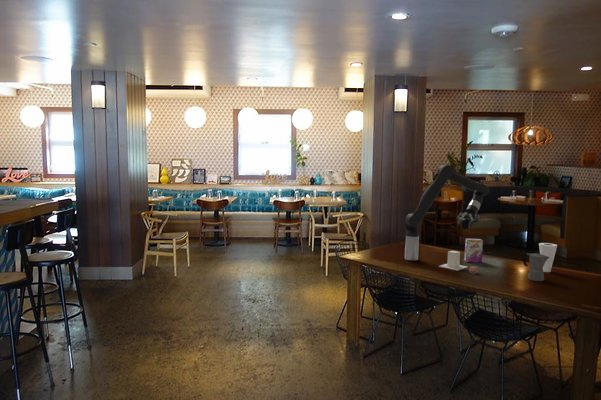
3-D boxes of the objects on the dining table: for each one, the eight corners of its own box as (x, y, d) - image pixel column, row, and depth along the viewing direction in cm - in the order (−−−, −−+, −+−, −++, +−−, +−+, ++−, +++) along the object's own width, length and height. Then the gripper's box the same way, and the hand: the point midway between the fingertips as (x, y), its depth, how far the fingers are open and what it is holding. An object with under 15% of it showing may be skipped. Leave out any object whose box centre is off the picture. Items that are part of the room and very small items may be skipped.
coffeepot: (549, 279, 277) (550, 250, 275) (546, 282, 270) (548, 253, 268) (521, 275, 286) (523, 247, 284) (518, 278, 278) (520, 249, 277)
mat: (457, 270, 296) (457, 270, 296) (438, 266, 306) (438, 265, 306) (468, 267, 305) (468, 266, 305) (449, 263, 315) (449, 262, 315)
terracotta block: (474, 274, 288) (475, 268, 287) (469, 272, 291) (469, 266, 290) (477, 273, 290) (478, 267, 290) (472, 271, 293) (472, 265, 293)
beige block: (455, 267, 302) (455, 253, 301) (447, 266, 306) (447, 251, 305) (459, 266, 305) (460, 251, 304) (451, 264, 310) (452, 250, 309)
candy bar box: (465, 262, 319) (467, 239, 317) (464, 260, 324) (465, 238, 322) (482, 262, 318) (483, 240, 316) (480, 261, 323) (481, 238, 321)
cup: (553, 274, 289) (555, 246, 287) (535, 271, 296) (536, 244, 294) (557, 271, 297) (559, 244, 295) (539, 268, 304) (541, 242, 302)
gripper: (462, 203, 323) (452, 220, 316) (481, 205, 312) (472, 223, 306) (465, 210, 327) (456, 227, 320) (484, 212, 316) (475, 230, 310)
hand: (464, 225), depth 313 cm, fingers open, 8 cm apart
